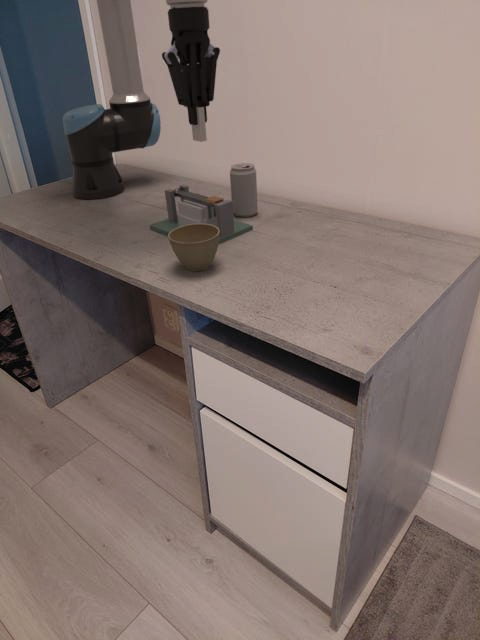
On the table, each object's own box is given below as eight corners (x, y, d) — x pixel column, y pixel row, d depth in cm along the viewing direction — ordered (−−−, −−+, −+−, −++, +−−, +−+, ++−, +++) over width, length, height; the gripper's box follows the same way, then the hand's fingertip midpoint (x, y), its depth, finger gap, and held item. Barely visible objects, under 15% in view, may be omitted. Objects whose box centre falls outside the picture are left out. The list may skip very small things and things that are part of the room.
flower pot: (196, 251, 101) (193, 219, 98) (232, 262, 96) (230, 229, 92) (162, 269, 95) (157, 235, 91) (198, 281, 89) (194, 246, 86)
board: (150, 229, 114) (144, 194, 110) (197, 211, 123) (194, 179, 118) (204, 250, 102) (200, 212, 97) (252, 229, 110) (251, 193, 106)
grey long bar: (171, 196, 113) (170, 188, 112) (179, 193, 114) (178, 186, 114) (215, 209, 103) (214, 201, 102) (224, 206, 105) (223, 198, 104)
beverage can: (247, 220, 116) (245, 170, 109) (227, 215, 119) (223, 167, 113) (262, 212, 120) (261, 163, 114) (242, 208, 123) (240, 161, 117)
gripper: (172, 6, 81) (187, 148, 94) (227, 4, 89) (234, 136, 101) (146, 8, 86) (164, 144, 98) (201, 6, 93) (211, 132, 106)
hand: (199, 140), depth 100 cm, fingers closed
